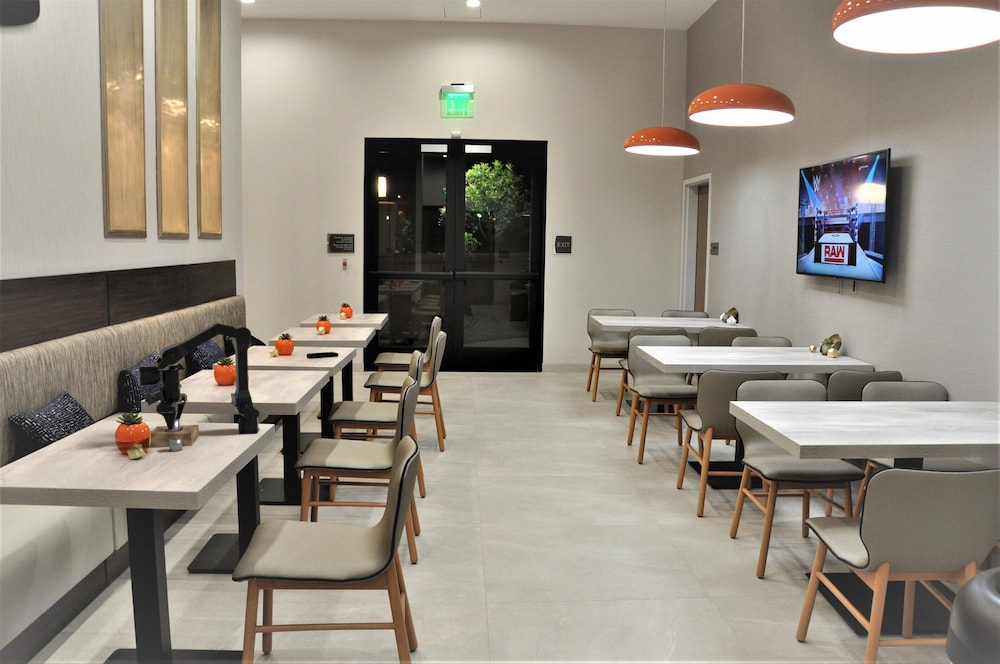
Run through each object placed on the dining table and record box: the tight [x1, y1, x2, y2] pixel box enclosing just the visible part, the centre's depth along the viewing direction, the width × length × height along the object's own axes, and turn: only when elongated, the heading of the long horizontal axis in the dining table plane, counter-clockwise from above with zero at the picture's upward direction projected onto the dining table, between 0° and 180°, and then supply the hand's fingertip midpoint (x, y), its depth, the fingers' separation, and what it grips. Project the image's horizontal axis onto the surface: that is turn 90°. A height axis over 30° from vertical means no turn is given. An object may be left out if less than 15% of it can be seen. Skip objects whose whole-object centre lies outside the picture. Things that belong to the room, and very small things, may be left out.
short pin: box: [168, 437, 183, 453], centre depth 260 cm, size 4×4×4 cm
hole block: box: [148, 424, 200, 449], centre depth 270 cm, size 14×12×4 cm
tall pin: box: [168, 418, 181, 432], centre depth 270 cm, size 4×4×8 cm
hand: (173, 426), depth 269 cm, fingers open, 9 cm apart
